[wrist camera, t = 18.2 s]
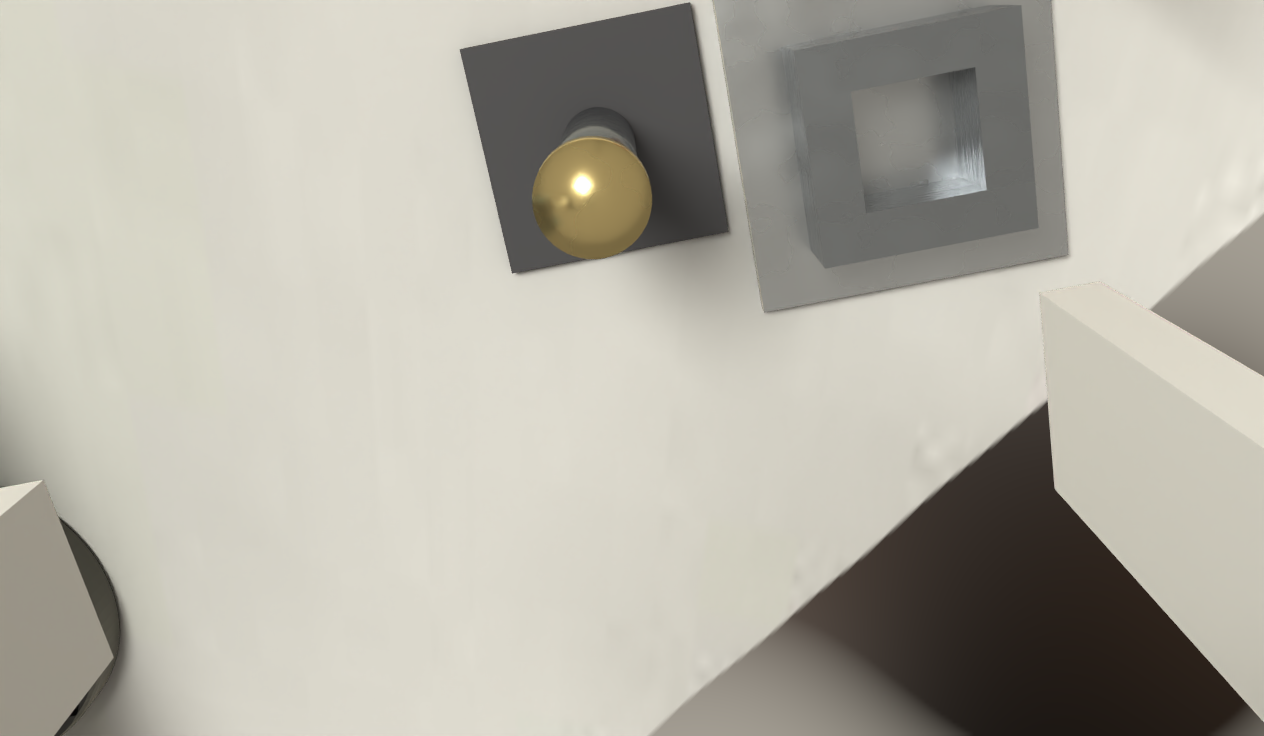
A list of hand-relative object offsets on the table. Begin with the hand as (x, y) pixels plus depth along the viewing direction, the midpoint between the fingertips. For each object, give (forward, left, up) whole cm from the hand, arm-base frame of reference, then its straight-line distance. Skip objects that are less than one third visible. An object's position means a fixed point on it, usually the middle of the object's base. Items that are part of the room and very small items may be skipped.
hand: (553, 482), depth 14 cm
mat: (0, 0, -37) cm, 37 cm away
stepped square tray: (+13, -2, -37) cm, 39 cm away
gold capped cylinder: (0, 0, -36) cm, 36 cm away
